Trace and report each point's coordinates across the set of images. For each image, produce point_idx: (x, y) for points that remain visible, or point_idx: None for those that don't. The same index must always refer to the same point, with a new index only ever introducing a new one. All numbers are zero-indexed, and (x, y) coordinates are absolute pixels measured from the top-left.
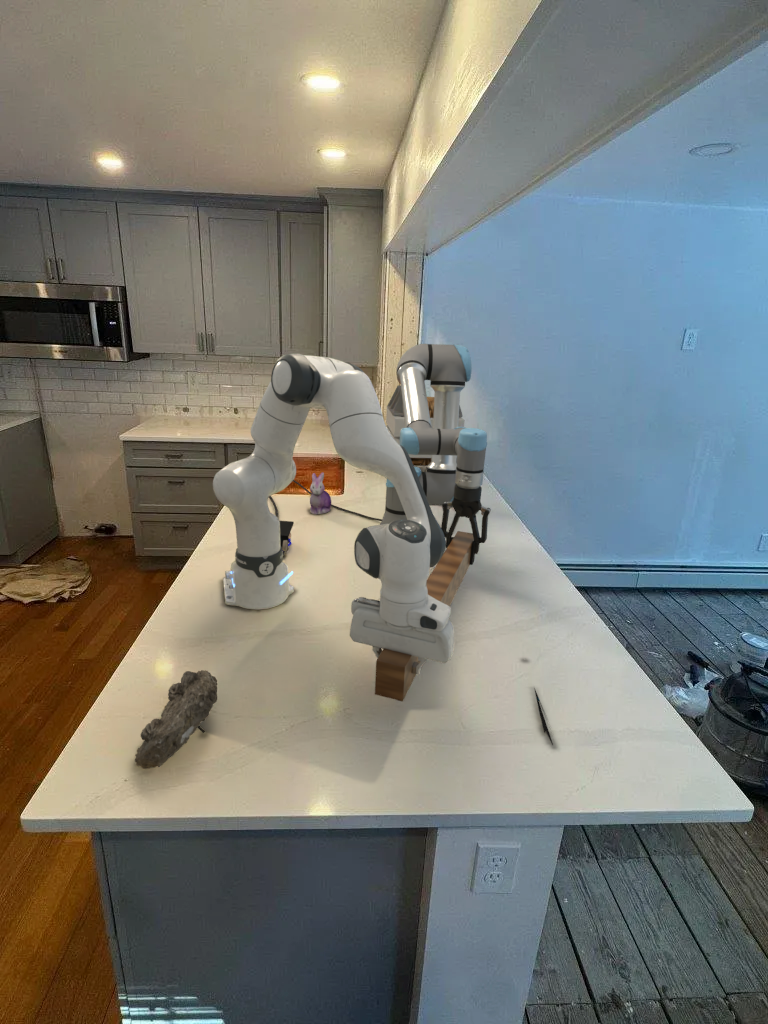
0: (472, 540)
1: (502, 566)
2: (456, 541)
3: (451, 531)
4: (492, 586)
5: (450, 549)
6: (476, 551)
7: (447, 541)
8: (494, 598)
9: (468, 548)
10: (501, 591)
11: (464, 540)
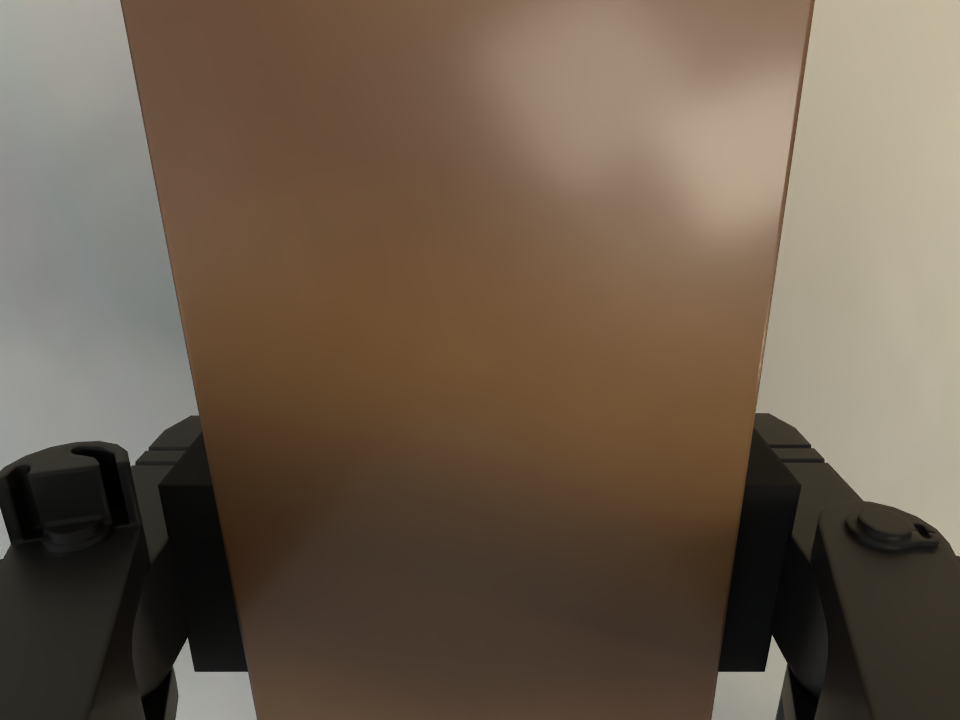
0: (245, 626)
1: (209, 692)
2: (615, 406)
3: (916, 688)
4: (151, 310)
5: None
6: (186, 439)
7: (824, 491)
8: (33, 48)
9: (124, 17)
10: (36, 242)
11: (425, 549)
